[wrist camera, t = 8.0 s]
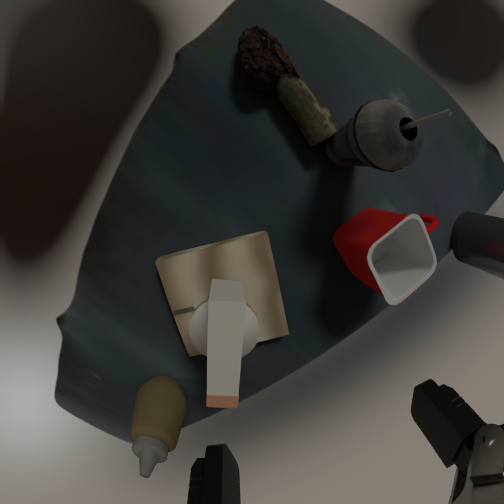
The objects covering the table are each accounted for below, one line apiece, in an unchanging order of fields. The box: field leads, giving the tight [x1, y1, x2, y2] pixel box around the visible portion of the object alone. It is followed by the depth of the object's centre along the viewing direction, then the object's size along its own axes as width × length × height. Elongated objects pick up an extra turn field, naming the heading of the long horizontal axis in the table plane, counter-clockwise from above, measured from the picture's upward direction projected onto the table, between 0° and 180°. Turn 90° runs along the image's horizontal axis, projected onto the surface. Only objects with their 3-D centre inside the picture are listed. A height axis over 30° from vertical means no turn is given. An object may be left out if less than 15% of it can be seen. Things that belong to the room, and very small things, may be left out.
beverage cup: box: [326, 99, 451, 172], centre depth 24 cm, size 7×7×20 cm
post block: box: [155, 231, 289, 357], centre depth 32 cm, size 14×14×9 cm
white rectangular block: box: [189, 279, 260, 408], centre depth 25 cm, size 11×7×6 cm, turn 175°
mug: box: [333, 208, 439, 305], centre depth 31 cm, size 12×8×11 cm
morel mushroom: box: [238, 26, 340, 147], centre depth 29 cm, size 18×7×6 cm, turn 34°
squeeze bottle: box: [130, 375, 187, 478], centre depth 31 cm, size 8×8×18 cm
